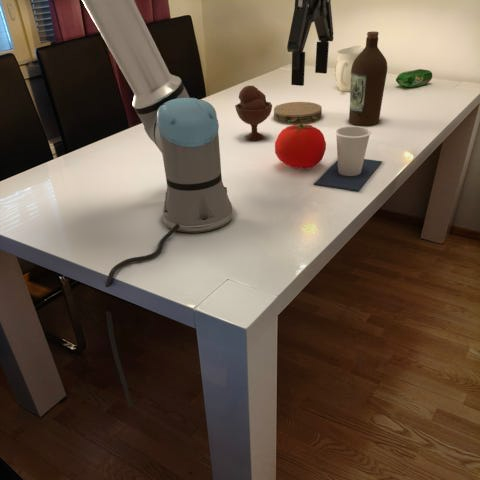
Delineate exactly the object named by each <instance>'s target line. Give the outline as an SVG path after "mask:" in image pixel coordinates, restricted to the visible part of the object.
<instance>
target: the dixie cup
mask: <svg viewBox="0 0 480 480" xmlns="http://www.w3.org/2000/svg"><path fill="white" fill-rule="evenodd" d="M334 133H335V135H336V156H337V157H336V158H337V160H338V173H339V174H341V175H345V176H355V175H359V174H360V173H361V170H362V166H363V161H364V159H365V157H366V152H367V148H368V144H369V140H370V135H371V134H372V131H371V130H370V129H369V128H367V127H366V126H358V125H347V126H341V127H339V128H337V129H336V130H335V132H334Z"/></svg>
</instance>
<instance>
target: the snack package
mask: <svg viewBox="0 0 480 480" xmlns="http://www.w3.org/2000/svg"><path fill="white" fill-rule="evenodd" d="M432 79H433V72H432V70H429V69H422V68H419V69H414V70H408V71H403V72H400V73H399V74H398V75H397V76H396V78H395V82H396V83H397V84H398V86H400V87H406V88H417V87H421V86H424V85H427V84H429V83H430V81H431V80H432Z"/></svg>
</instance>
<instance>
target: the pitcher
mask: <svg viewBox="0 0 480 480" xmlns="http://www.w3.org/2000/svg"><path fill="white" fill-rule="evenodd" d="M363 50H364V48H363V47H361V45H354V46H351V47H347V48H342V49H339V50H338V51H337V61H336V64H335V67H334V68H335V70H334V76H335V78H334V79H335V82H336V85H337V88H338V89H339V91H341V92H347V93H348V92H350V88H351V68H352V65H353V62H354V60H355V59H356V57H357V56H358V55H359V54H360V53H361V52H362V51H363Z"/></svg>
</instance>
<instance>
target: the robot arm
mask: <svg viewBox="0 0 480 480" xmlns="http://www.w3.org/2000/svg"><path fill="white" fill-rule="evenodd" d="M81 1H82V3H83V4H84V7H85V8H86V10H87V12H88V14H89V16H90V18H91V19H92V21H93V23H94V24H95V27H96V28H97V30H98V32H99V33H100V35H101V38H102V39H103V40H104V43H105V44H106V46H107V48H108V50H109V51H110V53H111V55H112V57H113V59H114V61H115V62H116V64H117V66H118V68H119V69H120V71H121V74H122V75H123V76H124V79H125V80H126V82H127V83H128V86H129V87H130V89H131V91H132V93H133V100H132V107H133V109H134V111H135V113H136V114H137V116H138V118H139V120H140V121H141V123H142V125H143V128H144V129H143V130H144V131H145V133H146V135H147V137H148V138H149V139H150V140H151V141H152V142H153V143H154V144H155V146H156V147H157V149H158V150H159V151H160V152H161V156H162V160H163V161H162V162H163V167H164V174H165V181H166V190H165V196H164V203H163V209H162V218H163V222H164V225H165V226H166V227H167V228H169V229H170V230H169V231H168V232H167V233H166V234H165V235H163V237H162V238H161V239H160V240H159V242H158V244H157V248H156V249H155V251H153V252H152V253H149V254H147V255H141V256H134V257H130V258H127V259H124V260H122V261H120V262H119V263H117V264H115V265H114V266H113V267H111V269H110V271H109V273H108V276H107V278H106V282H105V286H104V287H105V288H110V286H111V285H112V281H113V278H114V276H115V274H116V272H117V271H118V270H119V269H121V268H123V267H125V266H126V265H129V264H132V263H136V262H143V261H148V260H151V259H153V258H156V257H157V256H158V255H159V254H160V253H161V252H162V249H163V245H164V243H165V242H166V241H167V240H168V239H169V238H170V237H171V236H172V235H173V234H174V233H175V232H180V233H186V234H187V233H188V234H199V233H206V232H211V231H214V230H217V229H220V228H222V227H224V226H225V225H227V224H228V223H229V222H231V220H232V219H233V217H234V214H233V205H232V202H231V201H230V198H229V195H228V187H226V186H225V185H224V183H223V176H222V165H221V164H222V163H221V150H220V137H219V128H220V125H219V119H218V117H217V111H216V108H215V107H214V106H213V105H212V104H211V103H210V102H209V101H208V100H207V101H206V100H204V99H198V98H195V97H190V95H189V93H188V91H187V89H186V87H185V85H184V83H183V81H182V78H180V76H177V75H174V74H171V73H170V71H169V68H168V66H167V65H166V63H165V60H164V59H163V57H162V55H161V52H160V50H159V48H158V47H157V44H156V42H155V40H154V39H153V37H152V34H151V32H150V30H149V28H148V27H147V24H146V22H145V20H144V18H143V16H142V14H141V12H140V10H139V8H138V6H137V4H136V2H135V0H81ZM313 23H314V27H315V30H316V31H315V32H316V36H317V39H318V41H316V47H315V49H316V50H315V66H314V67H315V68H314V72H315V74H328V63H329V47H330V42H333V41H334V24H333V13H332V4H331V0H294V10H293V15H292V19H291V26H290V30H289V35H288V41H287V47H286V49H287V50H286V51H287V52H288V53H291V78H290V79H291V80H290V81H291V82H290V83H291V86H299V87H303V86H305V68H306V51H304V49H305V46H306V43H307V40H308V37H309V33H310V30H311V27H312V24H313ZM105 314H106V324H107V329H108V336H109V341H110V345H111V349H112V353H113V358H114V361H115V364H116V368H117V371H118V375H119V378H120V381H121V384H122V387H123V391H124V395H125V398H126V402H127V406H128V408H131V407H133V401H132V398H131V395H130V394H131V393H130V390H129V386H128V384H127V381H126V377H125V373H124V370H123V366H122V364H121V360H120V356H119V353H118V348H117V344H116V338H115V333H114V328H113V327H114V326H113V320H112V318H113V317H112V312H111V311H108V310H105Z"/></svg>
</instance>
